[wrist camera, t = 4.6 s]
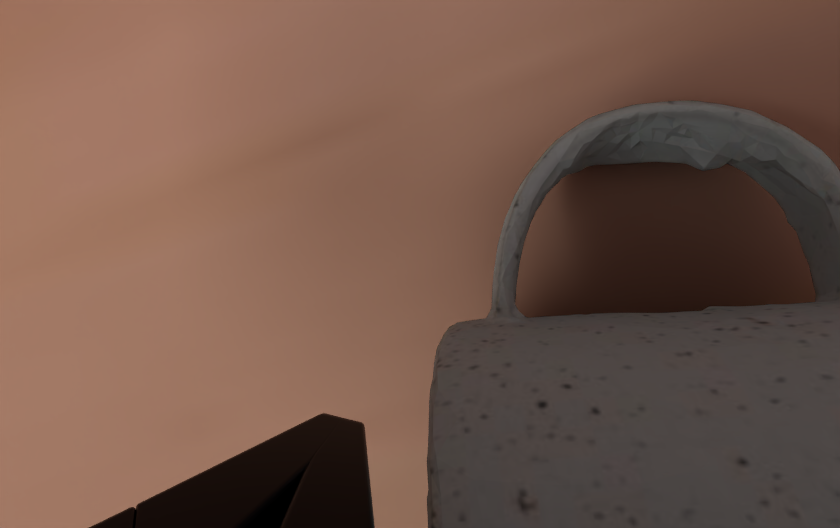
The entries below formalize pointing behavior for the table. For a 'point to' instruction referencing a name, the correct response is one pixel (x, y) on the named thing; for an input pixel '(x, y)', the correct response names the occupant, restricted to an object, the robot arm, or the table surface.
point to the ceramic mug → (650, 366)
